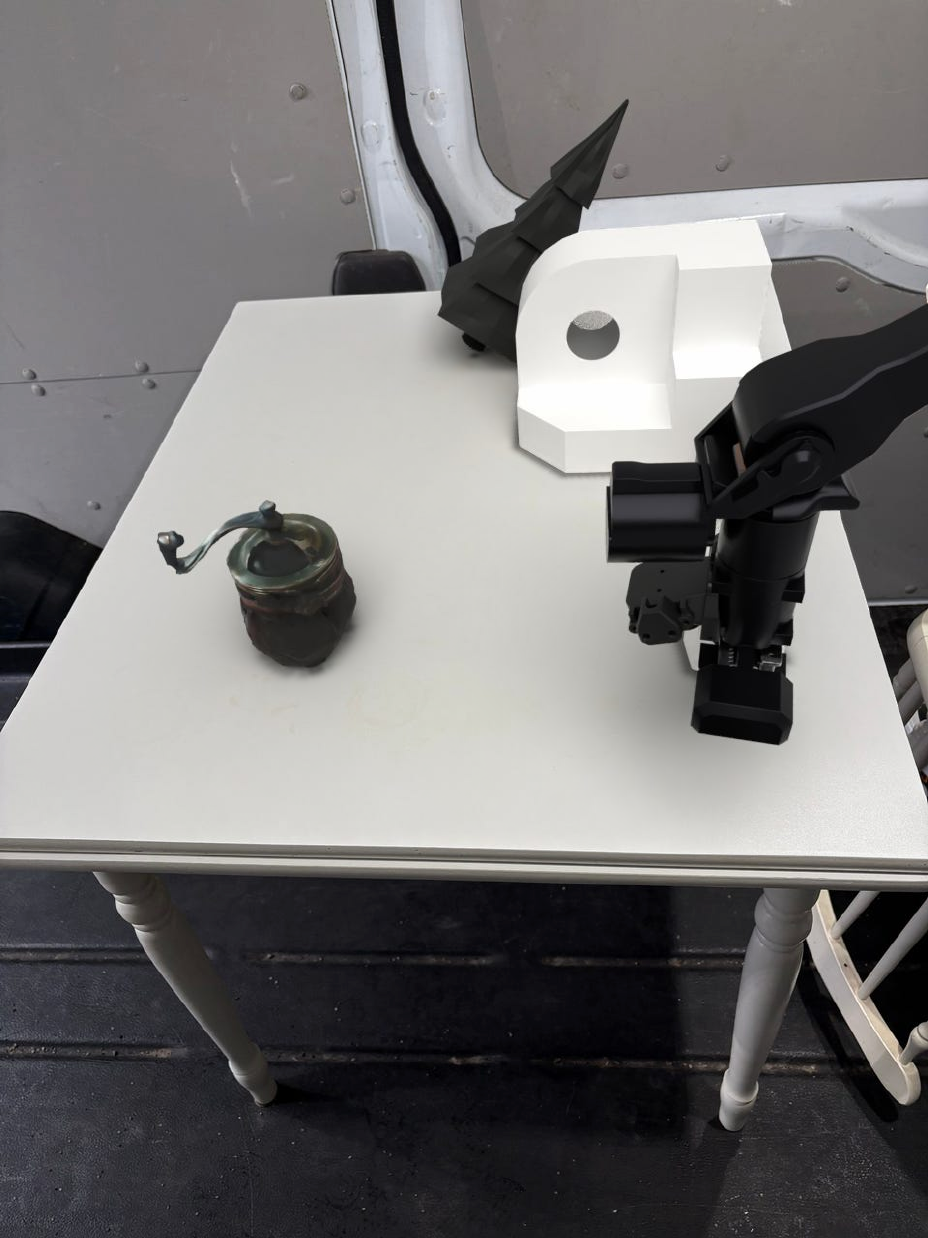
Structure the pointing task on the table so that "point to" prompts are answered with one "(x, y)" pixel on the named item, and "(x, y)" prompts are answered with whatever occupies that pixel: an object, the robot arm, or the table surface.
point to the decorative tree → (523, 246)
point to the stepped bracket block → (637, 340)
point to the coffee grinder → (282, 581)
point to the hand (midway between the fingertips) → (730, 701)
